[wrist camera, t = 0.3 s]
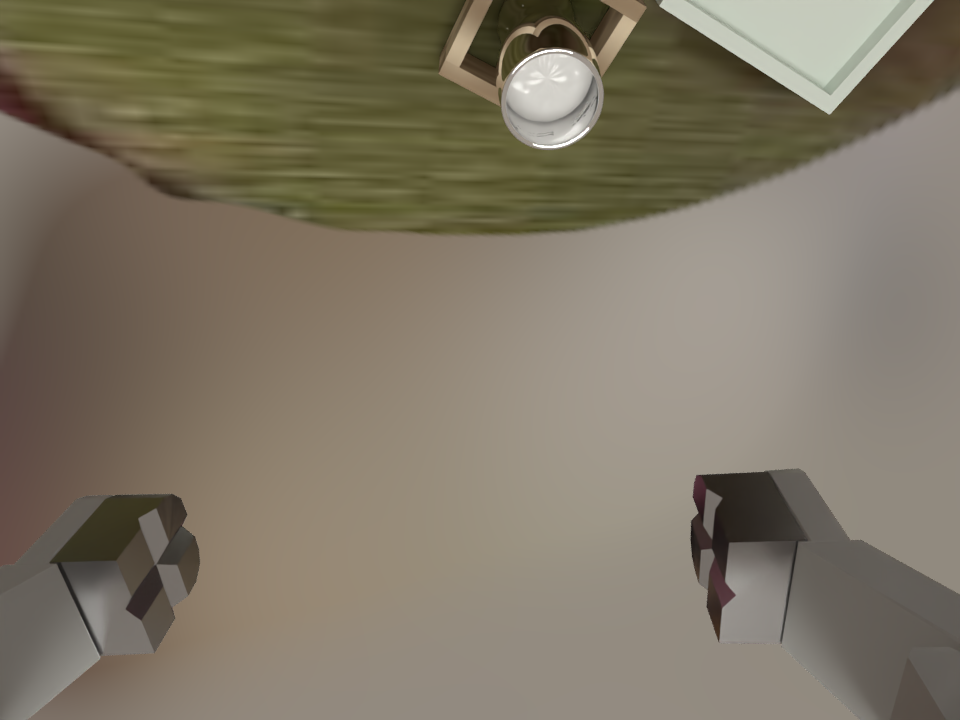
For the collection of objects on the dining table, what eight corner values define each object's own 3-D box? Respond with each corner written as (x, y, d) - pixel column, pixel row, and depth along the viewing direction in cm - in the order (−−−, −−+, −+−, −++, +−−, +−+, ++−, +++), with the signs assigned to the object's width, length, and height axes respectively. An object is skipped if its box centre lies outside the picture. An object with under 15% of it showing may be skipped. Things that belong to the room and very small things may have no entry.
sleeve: (508, -91, 48) (511, -79, 45) (636, -9, 52) (646, 7, 49) (440, 55, 55) (438, 73, 52) (557, 117, 59) (561, 138, 56)
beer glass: (592, -11, 52) (625, 62, 41) (561, 78, 56) (583, 163, 46) (506, -37, 50) (516, 31, 40) (482, 56, 55) (484, 139, 44)
